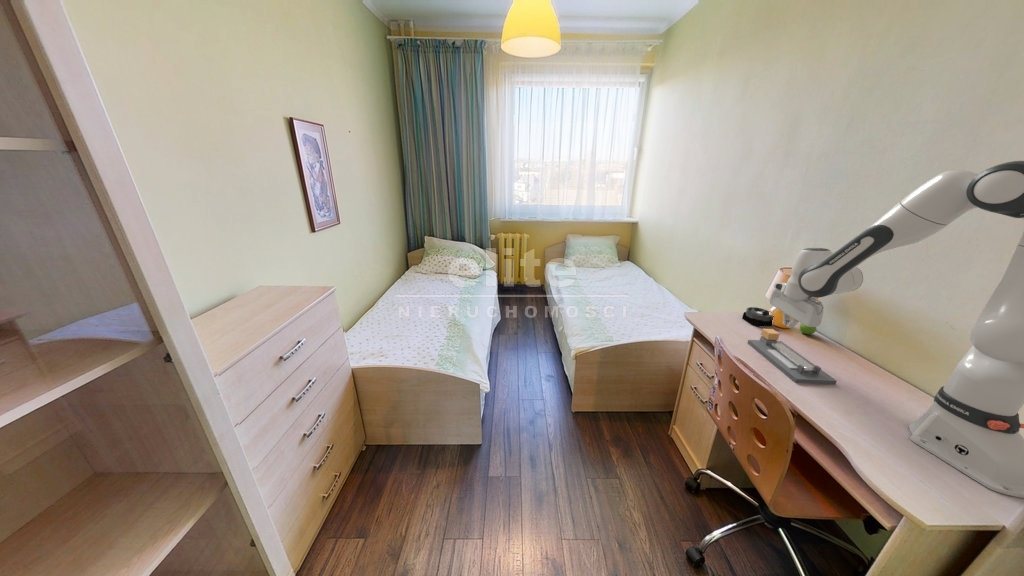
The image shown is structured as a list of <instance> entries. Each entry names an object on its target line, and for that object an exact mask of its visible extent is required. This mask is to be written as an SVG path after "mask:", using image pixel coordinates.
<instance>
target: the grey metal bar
mask: <svg viewBox="0 0 1024 576" xmlns="http://www.w3.org/2000/svg"><path fill="white" fill-rule="evenodd" d="M772 346H773V347H775V348H776V349H777V350H779V351H780V352H781V353H782V354H784V355H785V356H786V357H787V358H789V359H790V360H791V361H793V362H794V363H795V364H796V365H802V366H803V367H805V368H804V371H816V368H815V367H812V366H811V365H809V364H808V363H807V362H805V361H804V360H803V359H801V358H800V357H799V356H797V355H796V354H795V353H793V352H792V351H791V350H789V349H788V348H787V347H785V346H784V345H783V344H780V343H772Z"/></svg>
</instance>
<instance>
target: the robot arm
mask: <svg viewBox="0 0 1024 576" xmlns="http://www.w3.org/2000/svg"><path fill="white" fill-rule="evenodd" d="M977 208H979V209H981V210H984V211H986V212H990V213H994V214H998V215H1002V216H1006V217H1010V218H1014V219H1022V220H1024V160H1014V161H1008V162H1002V163H1000V164H997V165H996V164H995V165H994V166H992V167H989V168H986V169H985V170H983V171H982V172H980V173H978V174H977V173H975V172H972V171H968V170H962V169H961V170H960V169H952V170H946V171H943V172H941V173H938V174H936V175H935V176H934V177H932V178H931V179H929V180H928V181H926V182H924V183H922V184H921V185H920V186H918V187H917V188H915V189H914V190H913V191H912V192H910V193H908V194H907V195H906V196H905V197H904V198H903V199H901V200H900V201H899V202H897V203H896V204H895V205H894V206H892V207H891V208H890V209H889V210H888V211H886V213H884V214H883V215H882V216H881V217H880V218H878V219H877V220H876V221H875V222H873V223H872V224H871V225H869V226H867V228H866V229H865V230H864V231H862V232H861V233H859V234H858V235H856V236H855V237H853V238H852V239H851V240H849V241H848V242H847V243H845V244H844V245H842V247H840V248H838V250H836V251H835V252H834V253H833V252H832V250H830V249H828V248H823V247H808V248H804V249H802V250H800V251H799V252H798V254H797V255H796V257H795V259H794V262H793V265H792V267H791V270H790V271H791V273H790V274H791V275H790V276H789V278H788V279H787V281H786V282H775V283H774V284H773V287H774V289H773V290H771V291H772V292H771V294H770V296H769V304H770V305H771V306H772V307H774V308H776V309H778V310H779V311H781V313H782V314H781V315H782V319H783V320H782V325H784V326H786V327H787V328H788V329H794V327H795V325H796V324H798V323H801V324H804V325H806V326H808V327H816V328H817V327H819V326H820V325H821V323H822V319H823V316H824V315H823V314H824V305H823V304H822V301H820V300H817V299H818V298H819V299H820V298H824V297H828V296H833V295H840V294H844V293H845V294H846V293H850V292H853V291H855V290H857V289H859V288H860V287H861V286H862V284H863V282H864V276H863V272H862V271H861V269H860V268H858V266H860V265H861V264H862V263H864V262H866V261H867V260H868V259H870V258H871V257H873V256H875V255H878V254H881V253H883V252H886V251H889V250H893V249H897V248H900V247H904V246H909V245H914V244H916V243H919V242H921V241H923V240H926V239H928V238H929V237H932V236H933V235H935V234H936V233H938V232H940V231H941V230H943V229H944V228H946V227H947V226H949V225H950V224H952V223H953V222H954V221H956V220H957V219H959V217H961V216H963V215H964V214H966V213H967V212H969V211H972V210H973V209H977ZM816 298H817V299H816ZM969 336H970V338H969V340H970V342H971V344H972V346H971V347H970V348H969V349H968V351H967V352H966V353H965V355H964V356H962V358H961V359H960V360H959V361H958V363H957V364H956V367H955V368H954V369H953V372H952V373H951V374H950V376H949V378H948V379H947V381H946V382H945V384H944V385H943V386H941V387H940V388H939V389H938V391H937V393H935V395H934V398H933V403H931V405H930V407H928V409H927V410H926V411H925V412H924V413H923V414H922V415H921V416H920V417H919V418H918V419H916V420H915V421H913V422H912V423H910V424H909V427H908V428H909V431H910V434H911V435H910V437H909V439H910V441H912V442H913V443H915V444H916V445H918V446H919V447H921V448H923V449H924V450H925V451H928V452H929V453H931V454H932V455H934V456H936V457H937V458H939V459H940V460H942V461H944V462H945V463H946V464H948V465H950V466H952V467H953V468H955V469H956V470H958V471H960V472H961V473H962V474H964V475H966V476H968V477H970V478H971V479H972V480H974V481H976V482H977V483H979V484H981V485H982V486H984V487H985V488H987V489H989V490H991V491H994V492H998V493H1001V494H1004V495H1007V496H1010V497H1015V498H1023V499H1024V437H1023V436H1022V434H1021V433H1020V431H1021V430H1020V429H1024V423H1020V414H1019V413H1018V412H1019V411H1020V410H1021V408H1022V407H1023V405H1024V231H1023V232H1022V235H1021V237H1020V239H1019V242H1018V243H1017V246H1016V248H1015V250H1014V252H1013V255H1012V256H1011V259H1010V261H1009V263H1008V266H1007V267H1006V270H1005V272H1004V274H1003V276H1002V278H1001V280H1000V281H999V283H998V284H997V286H996V288H995V289H994V291H993V293H992V294H991V296H990V297H989V298H988V301H987V302H986V304H985V306H984V307H983V309H982V311H981V312H980V314H979V316H978V317H977V319H976V321H975V323H974V325H973V327H972V329H971V331H970V335H969Z"/></svg>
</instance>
